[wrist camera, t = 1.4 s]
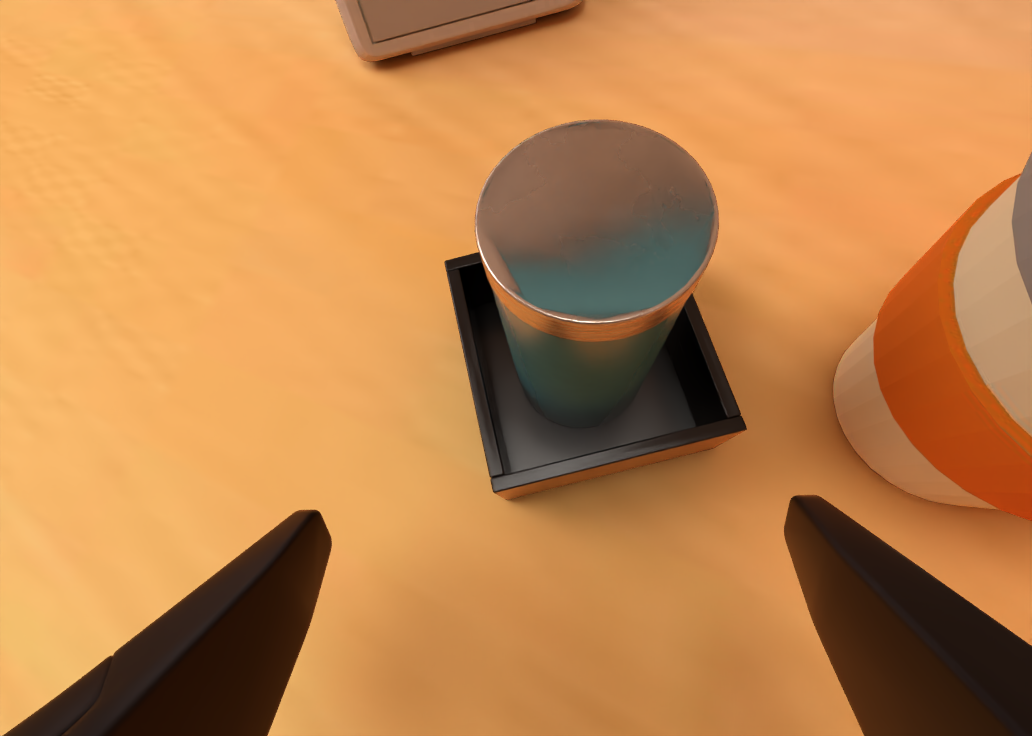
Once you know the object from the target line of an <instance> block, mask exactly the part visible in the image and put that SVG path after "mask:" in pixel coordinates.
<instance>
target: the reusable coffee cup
mask: <svg viewBox="0 0 1032 736" xmlns="http://www.w3.org/2000/svg"><path fill="white" fill-rule="evenodd" d="M833 400H834V405H835V409H836V414H837V418H838V420H839V423H840V425H841V427H842V430H843V432H844V434H845V436H846V438H847V439H848V441H849V442H850V444H851V445H852V447H853V448H854V450H855V451H856V453H857V454H858V455H859V456H860V457H861V458H862V459H863V460H864V461H865V462H866V463H867V465H868V466H869V467H870V468H871V469H873V470H874V471H875V472H876V473H878V474H879V475H880V476H882V477H883V478H884V479H885V480H887V481H888V482H889V483H891V484H893V485H895V486H897V487H898V488H900V489H902V490H904V491H906V492H907V493H910V494H912V495H915V496H918V497H921V498H923V499H926V500H929V501H933V502H938V503H944V504H949V505H957V506H968V507H978V508H988V509H999V510H1002V511H1005V512H1008V513H1011V514H1014V515H1016V516H1019V517H1022V518H1025V519H1028V520H1030V521H1032V153H1031V155H1030V157H1029V159H1028V161H1027V163H1026V165H1025V168H1024V170H1023V172H1022V173H1021V174H1019V175H1016V176H1014V177H1011V178H1009V179H1007V180H1004V181H1003V182H1001V183H1000V184H998V185H997V186H996V187H994V188H993V189H991V190H990V191H988V192H987V193H985V194H984V195H983V196H981V197H980V198H978V199H977V200H976V201H975V202H974V203H973V204H972V205H971V206H970V207H969V208H968V209H967V211H966V212H965V213H964V214H963V215H962V216H961V217H960V218H959V219H958V220H957V221H956V222H955V223H954V224H953V225H952V226H951V227H950V228H949V229H948V230H947V231H946V232H945V234H944V235H943V236H942V237H941V238H940V239H939V240H938V241H937V242H936V243H935V244H934V245H933V246H932V247H931V248H930V249H929V250H928V251H927V252H926V253H925V254H924V256H923V257H922V258H921V259H920V260H919V261H918V262H917V263H916V264H915V265H914V266H913V267H912V268H911V269H910V270H909V271H908V272H907V273H906V274H905V275H904V277H903V278H902V279H901V280H900V281H899V282H898V283H897V284H896V286H895V287H894V288H893V289H892V290H891V291H890V292H889V294H888V296H887V298H886V300H885V302H884V304H883V306H882V308H881V310H880V312H879V314H878V318H877V319H876V320H875V321H874V322H873V323H872V324H871V325H870V326H869V327H868V328H867V329H866V330H865V331H864V332H863V333H862V334H861V335H860V336H859V337H858V338H857V339H856V340H855V341H854V342H853V343H852V344H851V345H850V347H849V348H848V349H847V350H846V351H845V352H844V354H843V356H842V358H841V360H840V362H839V364H838V366H837V370H836V374H835V378H834V382H833Z"/></svg>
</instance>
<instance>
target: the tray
mask: <svg viewBox="0 0 1032 736" xmlns="http://www.w3.org/2000/svg"><path fill="white" fill-rule="evenodd" d="M445 267H446V271H447V277H448V281H449V286H450V291H451V296H452V300H453V305H454V310H455V314H456V319H457V324H458V329H459V333H460V338H461V343H462V348H463V352H464V357H465V362H466V366H467V371H468V376H469V381H470V385H471V390H472V395H473V400H474V404H475V409H476V414H477V418H478V423H479V428H480V433H481V437H482V442H483V447H484V451H485V456H486V461H487V466H488V470H489V475H490V477H491V485H492V489H493V492H494V493H495V494H497V495H499V496H501V497H502V498H504V499H506V500H509V499H513V498H517V497H521V496H525V495H529V494H533V493H537V492H541V491H545V490H549V489H553V488H557V487H561V486H565V485H569V484H573V483H577V482H581V481H585V480H589V479H593V478H597V477H601V476H605V475H609V474H613V473H617V472H621V471H625V470H629V469H633V468H637V467H641V466H645V465H649V464H653V463H657V462H661V461H665V460H669V459H673V458H677V457H681V456H685V455H689V454H693V453H697V452H701V451H705V450H709V449H713V448H715V447H717V446H718V445H720V444H722V443H724V442H726V441H727V440H729V439H731V438H733V437H734V436H736V435H738V434H740V433H742V432H743V431H745V430H747V428H746V425H745V423H744V420H743V418H742V416H740V415H741V413H740V410H739V408H738V405H737V403H736V400H735V398H734V395H733V393H732V390H731V388H730V385H729V383H728V381H727V378H726V376H725V373H724V371H723V368H722V366H721V363H720V361H719V358H718V356H717V353H716V351H715V348H714V346H713V343H712V341H711V338H710V336H709V334H708V331H707V329H706V326H705V324H704V321H703V319H702V316H701V314H700V311H699V309H698V306H697V304H696V301H695V299H694V296H693V294H692V293H691V295H690V296H689V298H688V299H687V300H686V302H685V304H684V306H683V308H682V310H681V312H680V314H679V316H678V317H677V319H676V321H675V323H674V325H673V327H672V329H671V331H670V333H669V334H668V336H667V338H666V340H665V342H664V344H663V346H662V348H661V350H660V351H659V353H658V355H657V357H656V359H655V361H654V363H653V365H652V367H651V368H650V370H649V372H648V374H647V376H646V378H645V380H644V382H643V384H642V385H641V387H640V389H639V391H638V393H637V395H636V397H635V398H634V400H633V401H632V403H631V404H630V405H629V407H628V408H627V409H626V410H625V411H624V412H623V413H621V414H620V415H619V416H617V417H616V418H614V419H613V420H611V421H609V422H607V423H604V424H601V425H598V426H594V427H587V428H575V427H568V426H563V425H560V424H558V423H555V422H553V421H551V420H549V419H547V418H546V417H544V416H543V415H541V414H540V413H539V412H538V411H537V410H535V408H534V407H533V406H532V405H531V404H530V403H529V401H528V400H527V398H526V397H525V395H524V392H523V390H522V388H521V385H520V382H519V378H518V375H517V371H516V368H515V365H514V361H513V358H512V355H511V351H510V348H509V344H508V341H507V338H506V334H505V331H504V328H503V324H502V321H501V317H500V314H499V311H498V307H497V304H496V301H495V297H494V294H493V291H492V287H491V284H490V282H489V280H488V278H487V276H486V272H485V269H484V266H483V263H482V260H481V256H480V253H479V252H478V253H474V254H470V255H466V256H462V257H458V258H454V259H451V260H447V261H445Z"/></svg>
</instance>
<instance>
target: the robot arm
mask: <svg viewBox="0 0 1032 736" xmlns="http://www.w3.org/2000/svg"><path fill="white" fill-rule="evenodd" d="M784 535H785V540H786V543H787V546H788V549H789V552H790V555H791V558H792V561H793V564H794V567H795V570H796V573H797V576H798V579H799V582H800V585H801V588H802V591H803V594H804V597H805V600H806V603H807V606H808V609H809V612H810V615H811V618H812V621H813V623H814V626H815V628H816V630H817V633H818V635H819V638H820V640H821V642H822V644H823V646H824V649H825V651H826V653H827V655H828V657H829V659H830V662H831V664H832V666H833V668H834V670H835V673H836V675H837V677H838V679H839V681H840V684H841V686H842V688H843V690H844V692H845V695H846V697H847V699H848V701H849V703H850V705H851V708H852V710H853V712H854V714H855V716H856V719H857V721H858V723H859V725H860V727H861V730H862V732H863V734H864V736H1032V646H1031V645H1030V644H1028V643H1027V642H1025V641H1024V640H1022V639H1021V638H1020V637H1018V636H1017V635H1015V634H1014V633H1013V632H1011V631H1010V630H1008V629H1007V628H1005V627H1004V626H1003V625H1001V624H1000V623H998V622H997V621H996V620H994V619H993V618H991V617H990V616H989V615H987V614H986V613H984V612H983V611H981V610H980V609H979V608H977V607H976V606H974V605H973V604H972V603H970V602H969V601H967V600H966V599H964V598H963V597H962V596H960V595H959V594H957V593H956V592H955V591H953V590H952V589H950V588H949V587H947V586H946V585H945V584H943V583H942V582H940V581H939V580H938V579H936V578H935V577H933V576H932V575H930V574H929V573H928V572H926V571H925V570H923V569H922V568H921V567H919V566H918V565H916V564H915V563H913V562H912V561H911V560H909V559H908V558H906V557H905V556H904V555H902V554H901V553H899V552H898V551H897V550H895V549H894V548H892V547H891V546H889V545H888V544H887V543H885V542H884V541H882V540H881V539H880V538H878V537H877V536H875V535H874V534H872V533H871V532H870V531H868V530H867V529H865V528H864V527H863V526H861V525H860V524H858V523H857V522H855V521H854V520H853V519H851V518H850V517H848V516H847V515H846V514H844V513H843V512H841V511H840V510H838V509H837V508H836V507H834V506H833V505H831V504H830V503H829V502H827V501H826V500H824V499H823V498H821V497H819V496H817V495H797V496H793V497H792V498H791V500H790V503H789V508H788V512H787V517H786V521H785V526H784ZM331 546H332V541H331V536H330V534H329V531H328V529H327V527H326V524H325V522H324V520H323V518H322V515H321V513H320V512H319V511H317V510H299V511H296V512H295V513H293V514H292V515H290V516H289V517H288V518H287V519H285V520H284V521H283V522H281V523H280V524H279V525H278V526H276V527H275V528H274V529H272V530H271V531H270V532H269V533H267V534H266V535H265V536H263V537H262V538H261V539H260V540H258V541H257V542H256V543H254V544H253V545H252V546H251V547H249V548H248V549H247V550H245V551H244V552H243V553H242V554H240V555H239V556H238V557H236V558H235V559H234V560H233V561H231V562H230V563H229V564H227V565H226V566H225V567H224V568H222V569H221V570H220V571H218V572H217V573H216V574H215V575H213V576H212V577H211V578H209V579H208V580H207V581H206V582H204V583H203V584H202V585H200V586H199V587H198V588H197V589H195V590H194V591H193V592H191V593H190V594H189V595H188V596H186V597H185V598H184V599H182V600H181V601H180V602H179V603H177V604H176V605H175V606H173V607H172V608H171V609H170V610H168V611H167V612H166V613H164V614H163V615H162V616H161V617H159V618H158V619H157V620H155V621H154V622H153V623H152V624H150V625H149V626H148V627H146V628H145V629H144V630H143V631H141V632H140V633H139V634H137V635H136V636H135V637H134V638H132V639H131V640H130V641H128V642H127V643H126V644H125V645H123V646H122V647H121V648H119V649H118V650H117V651H116V652H115V653H114V655H113V656H109V657H108V658H106V659H105V660H104V661H103V662H101V663H100V664H99V665H97V666H96V667H95V668H94V669H92V670H91V671H90V672H88V673H87V674H86V675H84V676H83V677H82V678H81V679H79V680H78V681H77V682H75V683H74V684H73V685H71V686H70V687H69V688H67V689H66V690H65V691H63V692H62V693H61V694H59V695H58V696H57V697H55V698H54V699H53V700H51V701H50V702H49V703H47V704H46V705H45V706H43V707H42V708H40V709H39V710H38V711H36V712H35V713H34V714H32V715H31V716H29V717H28V718H27V719H25V720H24V721H22V722H21V723H20V724H18V725H17V726H15V727H14V728H13V729H11V730H10V731H9V732H7V733H6V734H4V735H3V736H267V735H268V733H269V730H270V728H271V725H272V722H273V720H274V717H275V715H276V712H277V709H278V707H279V704H280V702H281V699H282V696H283V694H284V691H285V689H286V686H287V684H288V681H289V678H290V676H291V673H292V671H293V668H294V665H295V663H296V660H297V658H298V655H299V652H300V650H301V647H302V645H303V642H304V639H305V637H306V634H307V631H308V629H309V626H310V623H311V620H312V616H313V613H314V610H315V606H316V602H317V599H318V595H319V592H320V588H321V584H322V581H323V577H324V573H325V570H326V566H327V563H328V559H329V555H330V552H331Z"/></svg>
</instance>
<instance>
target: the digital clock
mask: <svg viewBox="0 0 1032 736" xmlns="http://www.w3.org/2000/svg"><path fill="white" fill-rule="evenodd" d="M335 1H336V4H337V6H338V9H339V12H340V14H341V17H342V19H343V22H344V25H345V27H346V30H347V33H348V35H349V38H350V40H351V43H352V45H353V47H354V49H355V51H356V53H357V54H358V56H359V57H360V58H361V59H362V60H365V61H373V62H374V61H379V60H383V59H387V58H390V57H394V56H398V55H402V54H405V53H409V52H411V53H412V56H415V55H418V54H422V53H426V52H429V51H433V50H437V49H441V48H444V47H448V46H452V45H455V44H459V43H463V42H466V41H470V40H474V39H477V38H481V37H485V36H489V35H492V34H496V33H500V32H503V31H507V30H511V29H514V28H518V27H522V26H526V25H529V24H533V23H536V18H538V17H542V16H546V15H549V14H553V13H557V12H560V11H564V10H568V9H570V8H573V7H575V6H577V5H578V4H579V3H580V2H581V1H582V0H335Z"/></svg>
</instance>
